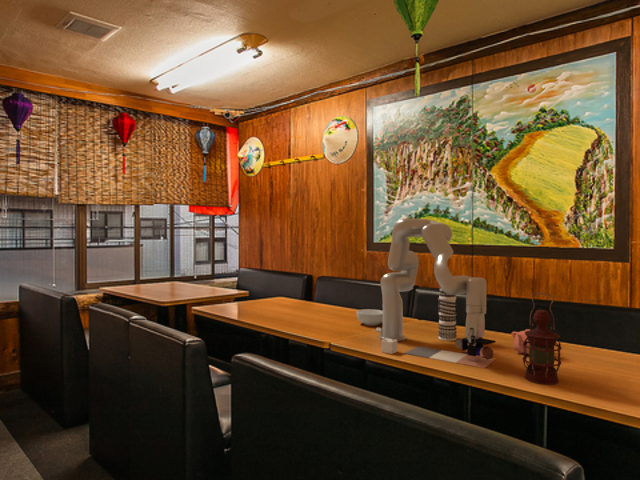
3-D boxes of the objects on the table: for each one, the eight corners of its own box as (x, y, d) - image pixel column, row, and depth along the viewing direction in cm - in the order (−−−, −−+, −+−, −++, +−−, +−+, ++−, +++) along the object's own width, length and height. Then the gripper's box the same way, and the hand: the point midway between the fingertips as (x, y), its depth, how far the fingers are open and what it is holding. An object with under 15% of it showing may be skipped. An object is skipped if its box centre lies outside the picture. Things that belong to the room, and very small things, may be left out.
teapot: (509, 348, 193) (510, 325, 193) (539, 350, 191) (539, 326, 191) (517, 357, 179) (517, 332, 179) (548, 359, 177) (548, 334, 177)
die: (381, 352, 187) (381, 340, 187) (386, 349, 191) (386, 338, 191) (391, 354, 184) (391, 342, 184) (397, 351, 188) (397, 339, 188)
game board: (404, 353, 184) (404, 352, 184) (418, 346, 196) (418, 346, 196) (484, 368, 165) (484, 367, 165) (495, 359, 176) (495, 359, 176)
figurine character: (455, 356, 178) (486, 361, 165) (453, 337, 178) (484, 340, 166) (466, 354, 181) (498, 359, 168) (464, 335, 182) (496, 338, 169)
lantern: (568, 381, 151) (569, 293, 150) (550, 388, 144) (551, 296, 143) (533, 371, 161) (534, 289, 160) (515, 378, 154) (515, 292, 153)
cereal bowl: (378, 328, 233) (378, 315, 233) (351, 325, 242) (351, 312, 242) (391, 323, 247) (391, 310, 247) (365, 320, 256) (365, 308, 256)
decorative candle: (439, 335, 217) (439, 285, 217) (458, 337, 213) (459, 286, 213) (435, 339, 209) (435, 287, 209) (455, 341, 205) (456, 288, 205)
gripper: (473, 305, 182) (473, 347, 183) (458, 311, 169) (458, 356, 169) (492, 307, 178) (491, 350, 178) (478, 313, 164) (478, 360, 164)
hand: (475, 353), depth 174 cm, fingers closed on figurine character, 7 cm apart
